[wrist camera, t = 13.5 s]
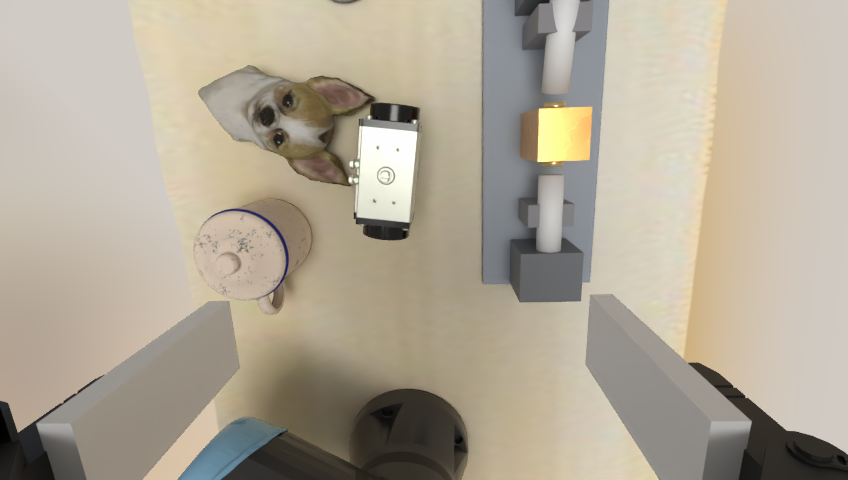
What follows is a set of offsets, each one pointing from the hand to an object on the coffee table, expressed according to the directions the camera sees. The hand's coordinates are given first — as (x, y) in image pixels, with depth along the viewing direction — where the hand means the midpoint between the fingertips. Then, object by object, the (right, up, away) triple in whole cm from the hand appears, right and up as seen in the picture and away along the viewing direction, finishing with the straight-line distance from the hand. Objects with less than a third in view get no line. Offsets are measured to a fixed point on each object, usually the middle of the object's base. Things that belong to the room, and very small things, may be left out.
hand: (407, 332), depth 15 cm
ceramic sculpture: (-13, +16, +30) cm, 36 cm away
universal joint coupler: (+13, +14, +28) cm, 34 cm away
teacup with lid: (-16, +3, +33) cm, 37 cm away
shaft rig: (+13, +14, +29) cm, 34 cm away
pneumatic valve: (-3, +11, +30) cm, 32 cm away
